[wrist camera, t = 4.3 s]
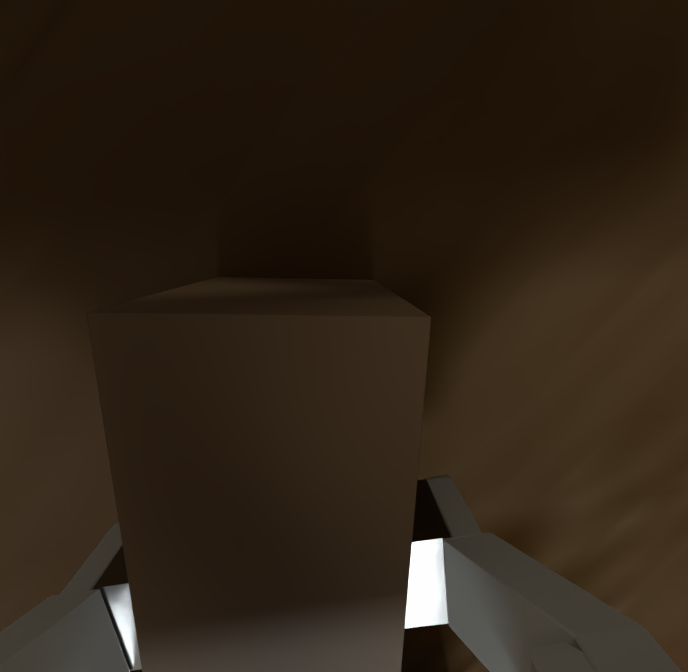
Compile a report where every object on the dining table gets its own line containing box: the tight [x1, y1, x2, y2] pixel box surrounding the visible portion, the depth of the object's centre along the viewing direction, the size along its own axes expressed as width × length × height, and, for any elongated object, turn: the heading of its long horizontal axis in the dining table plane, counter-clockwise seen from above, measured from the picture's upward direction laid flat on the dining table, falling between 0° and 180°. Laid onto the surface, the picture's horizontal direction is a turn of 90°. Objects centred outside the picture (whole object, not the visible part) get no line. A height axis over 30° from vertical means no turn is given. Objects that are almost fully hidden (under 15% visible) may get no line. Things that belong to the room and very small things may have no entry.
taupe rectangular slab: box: [87, 277, 431, 672], centre depth 7 cm, size 4×10×4 cm, turn 179°
